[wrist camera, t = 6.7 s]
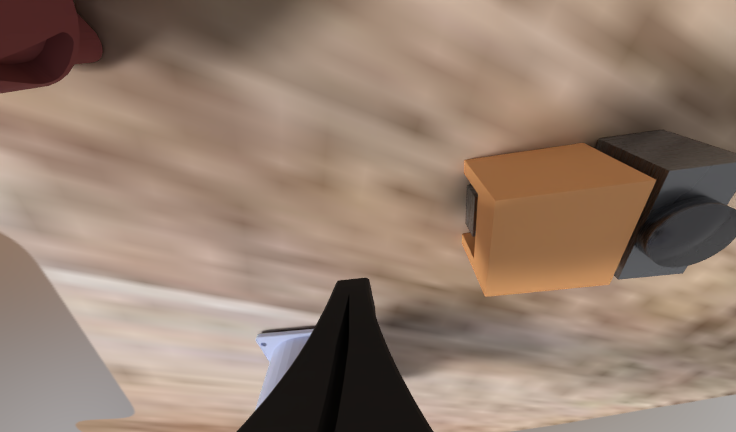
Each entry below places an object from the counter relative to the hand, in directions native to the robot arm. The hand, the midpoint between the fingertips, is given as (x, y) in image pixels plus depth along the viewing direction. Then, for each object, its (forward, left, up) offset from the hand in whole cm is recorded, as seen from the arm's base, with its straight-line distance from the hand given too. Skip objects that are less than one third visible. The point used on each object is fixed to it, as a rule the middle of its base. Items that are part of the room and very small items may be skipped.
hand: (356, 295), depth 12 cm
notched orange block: (0, -9, -6) cm, 11 cm away
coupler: (0, -10, -6) cm, 12 cm away
